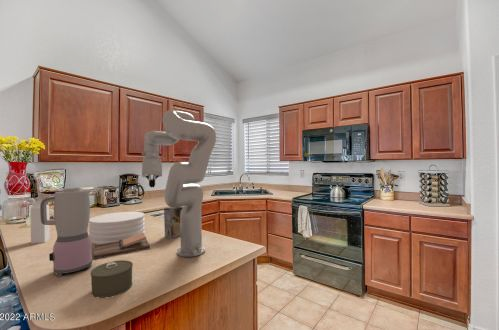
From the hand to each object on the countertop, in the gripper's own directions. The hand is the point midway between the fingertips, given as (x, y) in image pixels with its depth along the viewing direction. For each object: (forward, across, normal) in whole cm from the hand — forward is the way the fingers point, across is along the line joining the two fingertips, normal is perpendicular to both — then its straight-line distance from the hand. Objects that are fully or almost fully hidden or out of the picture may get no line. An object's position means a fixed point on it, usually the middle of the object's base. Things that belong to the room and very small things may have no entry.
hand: (152, 187), depth 133 cm
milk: (+29, -52, +28) cm, 66 cm away
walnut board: (+28, -16, -11) cm, 34 cm away
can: (+28, -22, -52) cm, 63 cm away
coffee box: (+28, +11, -4) cm, 31 cm away
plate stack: (+29, -16, +14) cm, 36 cm away
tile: (+24, -11, -11) cm, 29 cm away
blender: (+28, -36, -27) cm, 53 cm away
